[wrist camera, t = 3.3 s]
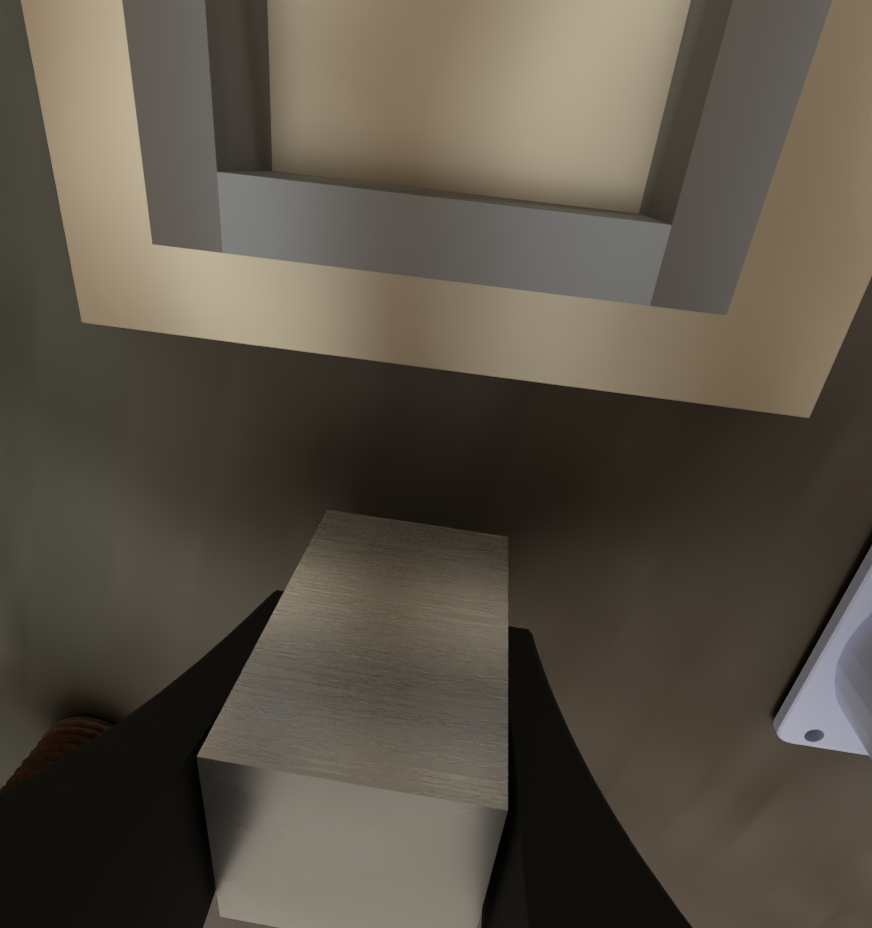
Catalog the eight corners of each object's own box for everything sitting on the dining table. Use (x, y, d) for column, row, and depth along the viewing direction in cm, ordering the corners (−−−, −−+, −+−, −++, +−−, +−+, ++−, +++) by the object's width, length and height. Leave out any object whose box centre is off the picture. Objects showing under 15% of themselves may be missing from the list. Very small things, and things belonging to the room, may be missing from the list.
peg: (508, 536, 12) (507, 810, 7) (482, 667, 14) (467, 963, 9) (327, 509, 13) (196, 756, 7) (325, 642, 14) (220, 916, 9)
